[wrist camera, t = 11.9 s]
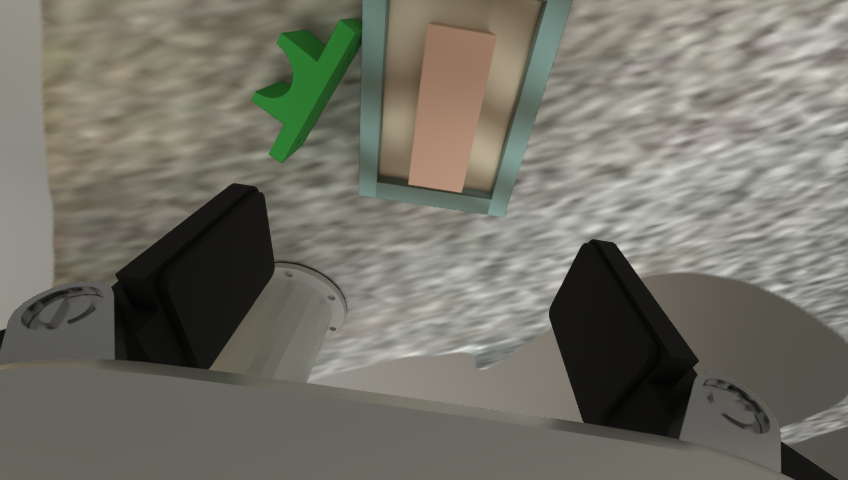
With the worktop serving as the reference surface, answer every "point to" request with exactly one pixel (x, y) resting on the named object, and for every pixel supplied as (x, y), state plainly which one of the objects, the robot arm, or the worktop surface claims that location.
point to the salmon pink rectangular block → (449, 104)
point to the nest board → (501, 107)
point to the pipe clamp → (308, 82)
